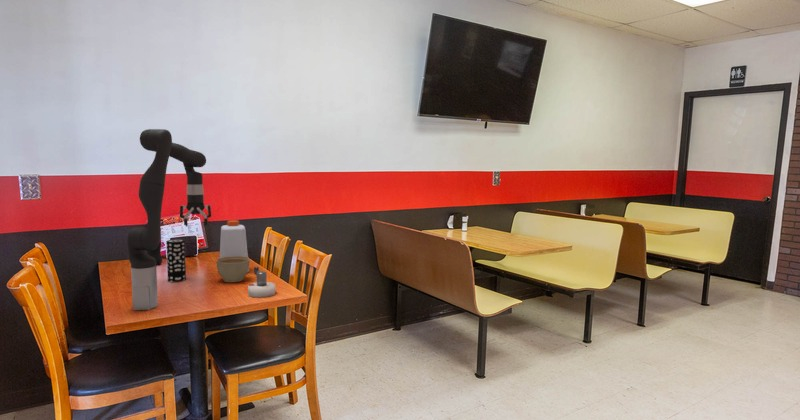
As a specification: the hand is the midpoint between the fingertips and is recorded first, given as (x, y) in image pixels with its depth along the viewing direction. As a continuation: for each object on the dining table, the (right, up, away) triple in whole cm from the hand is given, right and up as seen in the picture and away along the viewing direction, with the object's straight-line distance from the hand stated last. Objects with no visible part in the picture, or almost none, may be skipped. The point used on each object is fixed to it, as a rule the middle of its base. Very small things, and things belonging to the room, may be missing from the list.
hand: (196, 226), depth 236 cm
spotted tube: (-11, -28, +4) cm, 30 cm away
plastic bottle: (+11, -26, +23) cm, 36 cm away
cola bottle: (-38, -24, +34) cm, 56 cm away
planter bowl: (+17, -28, +6) cm, 33 cm away
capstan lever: (+35, -26, -12) cm, 45 cm away
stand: (+37, -31, -16) cm, 51 cm away
